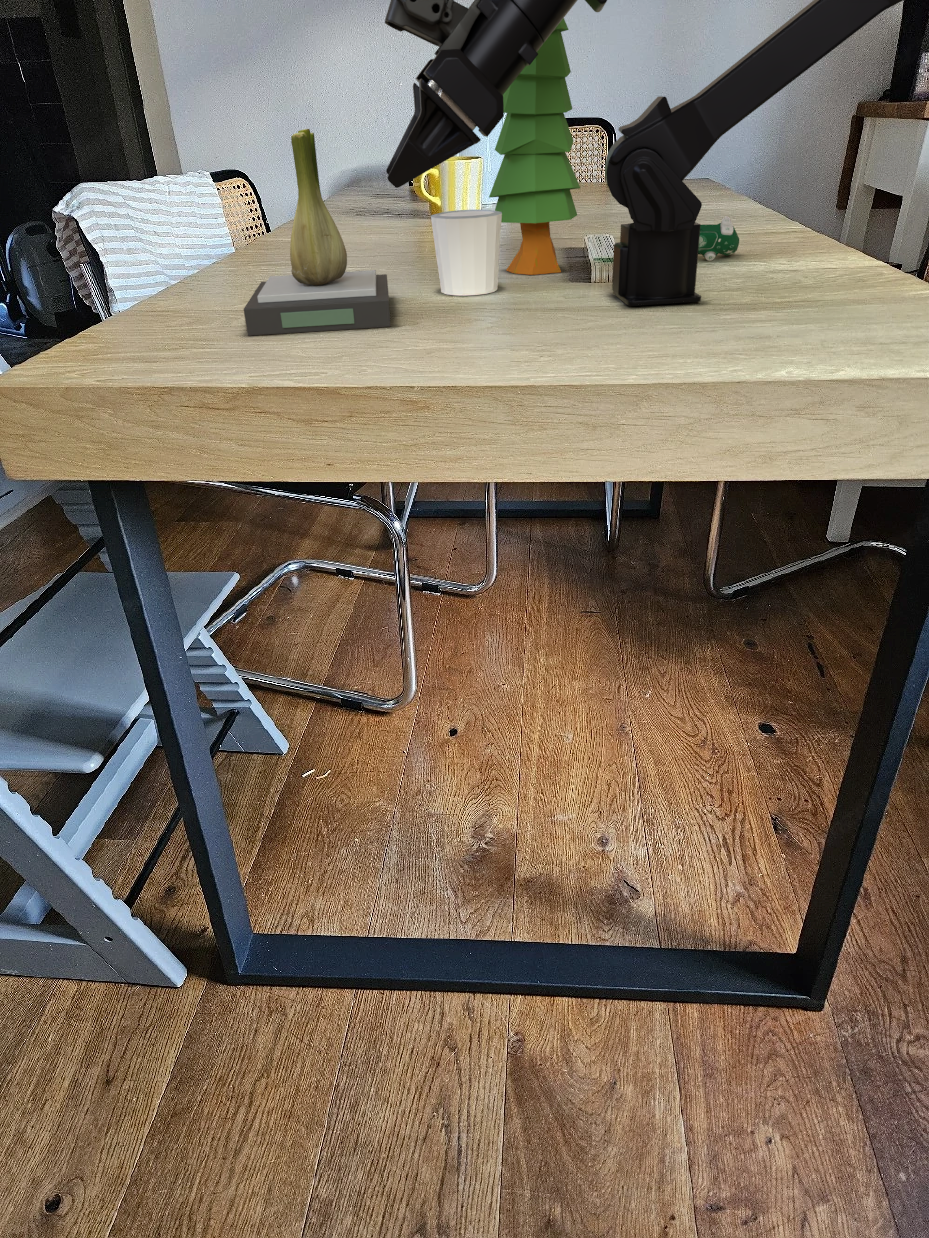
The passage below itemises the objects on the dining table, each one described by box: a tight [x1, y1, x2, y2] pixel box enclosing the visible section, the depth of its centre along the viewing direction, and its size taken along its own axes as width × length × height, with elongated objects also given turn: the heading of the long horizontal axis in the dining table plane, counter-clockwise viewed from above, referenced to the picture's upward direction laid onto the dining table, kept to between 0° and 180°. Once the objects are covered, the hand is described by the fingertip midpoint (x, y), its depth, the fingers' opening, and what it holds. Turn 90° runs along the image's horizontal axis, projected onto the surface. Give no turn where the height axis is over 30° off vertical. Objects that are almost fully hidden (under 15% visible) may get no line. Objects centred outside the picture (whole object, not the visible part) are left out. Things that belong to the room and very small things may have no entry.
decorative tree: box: [488, 17, 581, 276], centre depth 89 cm, size 10×9×30 cm
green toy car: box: [698, 215, 740, 262], centre depth 97 cm, size 9×4×6 cm
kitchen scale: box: [243, 269, 392, 337], centre depth 79 cm, size 12×13×3 cm
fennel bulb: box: [289, 128, 348, 286], centre depth 76 cm, size 6×5×12 cm
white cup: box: [430, 209, 502, 297], centre depth 86 cm, size 7×7×7 cm
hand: (390, 179), depth 75 cm, fingers open, 9 cm apart
